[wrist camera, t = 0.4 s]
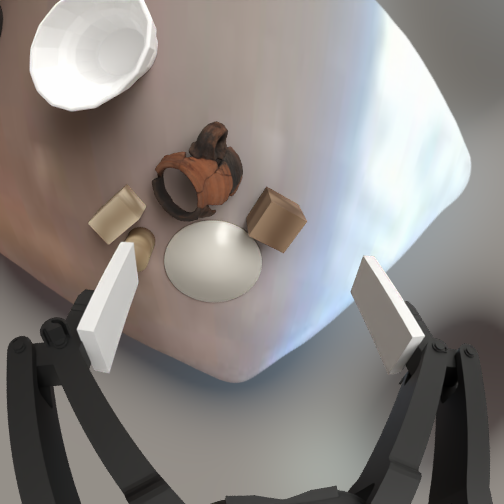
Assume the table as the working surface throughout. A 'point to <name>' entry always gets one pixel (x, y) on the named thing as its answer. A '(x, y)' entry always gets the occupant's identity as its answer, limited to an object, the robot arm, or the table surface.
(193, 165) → the pottery mug
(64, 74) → the cup
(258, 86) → the table surface
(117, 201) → the maple block
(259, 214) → the walnut block
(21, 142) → the table surface
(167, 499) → the robot arm
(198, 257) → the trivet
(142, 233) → the oak dowel offcut
